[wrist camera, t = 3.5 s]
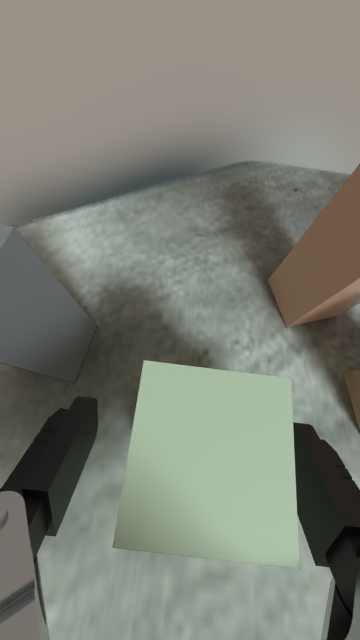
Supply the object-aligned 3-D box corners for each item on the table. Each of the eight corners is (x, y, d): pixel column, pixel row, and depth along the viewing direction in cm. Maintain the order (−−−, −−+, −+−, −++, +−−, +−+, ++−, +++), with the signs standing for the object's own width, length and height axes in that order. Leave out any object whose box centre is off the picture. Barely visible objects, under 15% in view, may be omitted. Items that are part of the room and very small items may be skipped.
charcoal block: (97, 326, 17) (14, 226, 8) (74, 383, 16) (-61, 345, 6) (43, 312, 17) (-103, 196, 8) (15, 367, 16) (-201, 307, 6)
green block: (217, 396, 16) (291, 378, 7) (213, 466, 15) (299, 568, 5) (156, 388, 16) (143, 360, 7) (146, 458, 15) (112, 547, 5)
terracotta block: (313, 271, 20) (447, 145, 10) (334, 316, 18) (510, 220, 9) (267, 280, 19) (365, 156, 10) (286, 327, 18) (420, 237, 9)
